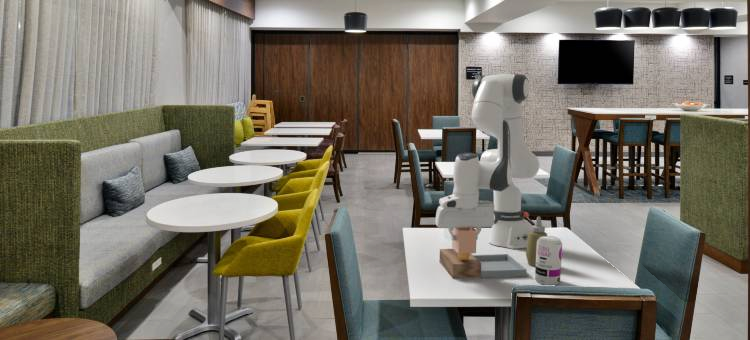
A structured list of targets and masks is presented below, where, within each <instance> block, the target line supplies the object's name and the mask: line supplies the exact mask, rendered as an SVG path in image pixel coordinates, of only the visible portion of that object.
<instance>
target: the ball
mask: <svg viewBox="0 0 750 340" xmlns="http://www.w3.org/2000/svg"><path fill="white" fill-rule="evenodd" d="M458 256H459V258H460V259H461V260H467V259H468V258H469V257H470V253H467V254H458Z"/></svg>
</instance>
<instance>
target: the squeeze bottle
mask: <svg viewBox="0 0 750 340" xmlns="http://www.w3.org/2000/svg"><path fill="white" fill-rule="evenodd" d="M542 224H543V222H542V218H541V216H537V217H536V220H535V224H533V226H532V231H531V232H529V237H528V243H527V248H526V251H525V252H526V253H525V257H526V260H527V264H528V265H530V266H532V267H536V249H537V241H538V239H539V237H541V236H548V233H547V232H546V226H544V225H542Z"/></svg>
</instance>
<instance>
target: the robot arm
mask: <svg viewBox="0 0 750 340" xmlns="http://www.w3.org/2000/svg"><path fill="white" fill-rule="evenodd" d="M471 85H472V86H471V93H472V97H473V98H474V99H473V104H472V109H471V120H472V123H473V125H474V126H475V127H476V128H477V129H479V130H480V132H483V133H485V134H488V135H489V136H491V137H493V138H495V139H496V140H497V148H492V149H486V150H485V151H483V153H482V154H481V156H480V160H479V155H478V154H476V153H473V152H464V153H463V152H461V153H459V154H457V156H456V157H455V161H454V165H453V166H454V167H453V176H452V177H453V190H452V194H449V195H447V196H444V197H441V198H439V200H438V203H439V206H438V207H437V209H436V213H435V225H436V227H437V228H438V229H447V230H448V232H449V234H450V240H451V241H452V240H456V235H455V234H453V230H454V228H474V229H476V230H477V241H478V237H479V235H480V233H481V231H482V228H491V229H490V234H489V237H488V243H489V244H491V245H493V246H496V247H502V248H503V247H504V248H508V249H511V250H513V249H514V250H515V249H527V243H528V237H529V232H531V231H532V226H534V224H533V225H532V223H530V222H529V221H528V220H526V219H525V218H529V216H530V214H529V212H527V211H524V210H522V205H521V204H522V192H521V190H520V189H519V187H518V186H516V185H515V184H514V182H513V180H512V178H514V179H520V180H521V179H522V180H523V179H524V180H525V179H532V178H535V176H536V175H537V174H538V172H539V170H540V161H539V158H538V156H537V155H536V154H534V153H533V152H532V151H531V150H530V148H529V146H528V144H527V142H526V140H525V136H524V130H523V110H522V109H523V108H522V102H524V101H526V99H527V98H528V96H529V92H530V90H531V89H530V81H529V79H528V78H527V77H526V75H524V74H519V73H515V74H513V73H511V74H510V73H499V74H490V75H485V74H484V75H479V76H477V77H476V78H475V79H474V80H473V82H472V84H471ZM479 189H484V190H491V191H493V201H491V200H489V199H487V200H481V199H480V200H479V198H480V190H479Z"/></svg>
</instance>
